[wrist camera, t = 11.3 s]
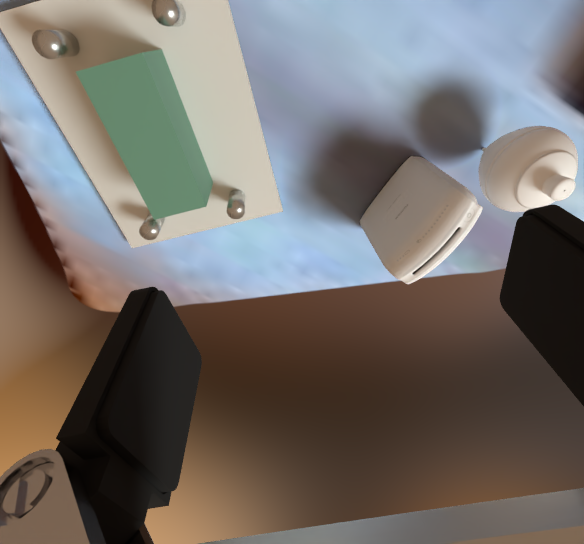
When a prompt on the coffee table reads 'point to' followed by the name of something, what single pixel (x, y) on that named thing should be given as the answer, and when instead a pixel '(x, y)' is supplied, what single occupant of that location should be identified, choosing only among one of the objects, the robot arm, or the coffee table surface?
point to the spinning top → (528, 168)
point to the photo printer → (419, 219)
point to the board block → (150, 131)
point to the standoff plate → (190, 84)
